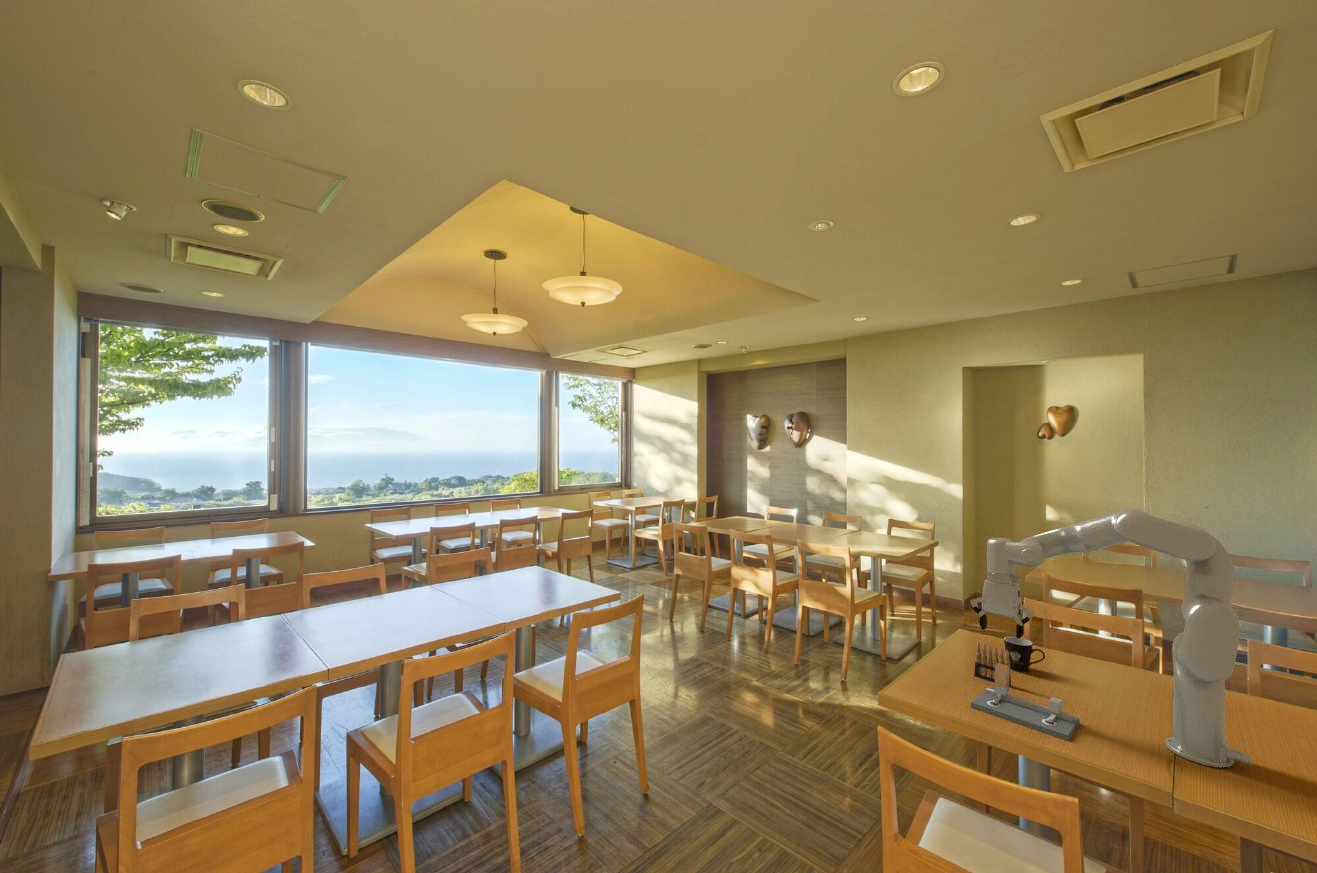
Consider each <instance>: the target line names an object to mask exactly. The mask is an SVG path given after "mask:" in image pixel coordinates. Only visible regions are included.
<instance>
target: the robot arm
mask: <svg viewBox="0 0 1317 873" xmlns="http://www.w3.org/2000/svg"><path fill="white" fill-rule="evenodd" d="M1126 543H1132V544H1134V545H1137V546H1140V547H1144V548H1146V549H1149V550H1153V551H1156V552H1159V553H1162V554H1165V555H1169V556H1172V557H1174V558H1177V559H1181V560H1185V562H1186V566H1187V568H1186V571H1187V572H1186V583H1185V588H1184V593H1183V599H1182V602H1181V606H1180V609H1181V610H1180V612H1181V615H1182V616H1183V619H1184V620H1185V622H1184V629H1183V631H1182V632H1180V633H1179V634H1178V635H1176V636H1175V638H1174V639H1173V641H1172V645H1171V646H1172V648H1171V652H1172V653H1171V654H1172V663H1173V664H1172V666H1173V736H1169V737H1167V738H1166V739H1165V746H1166V748H1168V750H1170V751H1171V752H1172V751H1173V752H1172V753H1173V754H1176V755H1178V756H1179V757H1182V758H1183V759H1186V760H1188V761H1191V762H1194V763H1197V764H1201V765H1204V766H1207V767H1212V766H1213V768H1218V767H1219V768H1220V769H1225V768H1224V767H1229V768H1231V767H1230V766H1232V765H1233V764H1235V761H1238V762H1240V763H1243V764H1246V765H1250V766H1252V756H1249V755H1246V754H1245V752H1244V751H1241V750H1238V749H1234V748H1232V747H1231V746H1228V740H1226V681H1225V680H1227V679H1229V678H1230V677H1231V676H1232V674H1233V672H1234V670H1235V666H1236V659H1237V654H1238V650H1239V642H1240V636H1241V622H1240V619H1239V616H1238V614H1237V612H1236V611H1235V610H1234V609H1233V607H1232V598H1233V592H1234V591H1233V590H1234V581H1235V571H1234V570H1235V569H1234V564H1233V561H1232V557H1231V555H1230V553H1229V552H1228V550H1227V549H1226V548H1225V546H1224V545H1223V544H1222V543H1221V542H1220V541H1219V539H1217V538H1216V537H1215V536H1213V534H1211V533H1210V532H1207V531H1206V530H1204V529H1203V528H1201V527H1200V526H1197V525H1194V524H1191V523H1177V522H1173V521H1169V520H1167V519H1163V518H1160V517H1157V516H1153V515H1151V514H1148V513H1146V512H1145V511H1143V510H1140V509H1138V508H1133V507H1132V508H1124V509H1120V510H1116V511H1114V512H1110V513H1107V514H1104V515H1100V516H1097V517H1093V518H1090V519H1088V520H1084V521H1081V522H1077V523H1073V524H1070V525H1069V524H1068V525H1066V526H1064V527H1061V528H1056V529H1052V530H1050V531H1045V532H1042V533H1039V534H1035V535H1031V536H1029V537H1026V538H1024V539H1022V540H1021V541H1013V539H1010V538H1005V537H990V538H988V539H987V541H986V579H984V583H983V585H982V586H983V587H982V593H981V597H976V598H973V599H971V600H969V602H970V604H971V607H972V608H973V611H975V612H976V614H977V616H978V617H979V626H980V629H981V630H982V631H984V630H986V629H987V628H988V616H987V615H986V614H987V613H989V614H991V615H993V614H994V615H998V616H1002V617H1006V618H1007V617H1008V618H1012V619H1014V621H1015V622H1016V623H1017V624H1016V627H1015V629H1016V632H1015V633H1016V635H1015V637H1017V638H1023V637H1024V635H1025V624H1028V623H1029V622H1030V621H1031V620H1032V618H1033V617H1034V616H1035V611H1033V610H1031V609H1030V608H1028V607H1026V606H1025V605H1023V604H1022V603H1023V602H1022V594H1021V589H1020V585H1019V584H1018V582H1019V583H1020V582H1021V581H1022V578H1021V577H1019V576H1018V575H1017V574H1016V565H1019V566H1023V567H1028V568H1035V567H1039V566H1041V565H1042V564H1043V563H1044V562H1045V561H1046V559H1049V558H1052V557H1056V556H1060V555H1064V554H1070V553H1091V552H1092V553H1093V552H1097V551H1099V550H1104V549H1106V548H1110V547H1113V546H1117V545H1121V544H1126ZM978 603H981V607H979V605H978ZM1023 613H1025V614H1026V616H1025V618H1023V617H1022V616H1021V615H1022V614H1023ZM1233 766H1234V765H1233ZM1233 766H1232V767H1233ZM1222 767H1223V768H1222Z"/></svg>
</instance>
